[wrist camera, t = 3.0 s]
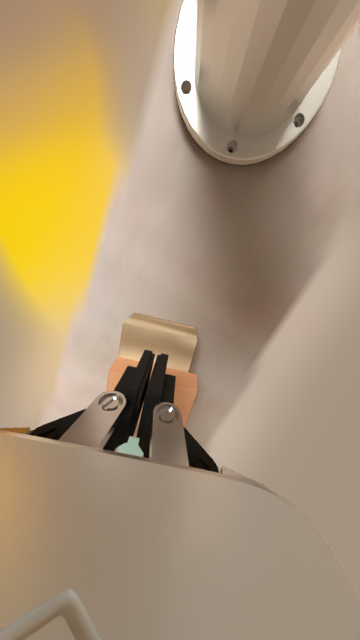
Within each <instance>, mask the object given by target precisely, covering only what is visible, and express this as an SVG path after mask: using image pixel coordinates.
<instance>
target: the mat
mask: <svg viewBox="0 0 360 640" xmlns="http://www.w3.org/2000/svg"><path fill="white" fill-rule="evenodd" d="M138 444H139V439H138V438H133V437H129V439H128V442H127V443H124V444H122V445H120V446H119V447H118V450H117V452H120V453H125V454H130V455H135V456H140V457H142V456H143V452H142V450H141V449H140V447H139V445H138Z"/></svg>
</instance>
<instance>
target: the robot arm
mask: <svg viewBox="0 0 360 640" xmlns="http://www.w3.org/2000/svg"><path fill="white" fill-rule="evenodd" d="M359 22H360V0H184V1H183V4H182V6H181V9H180V13H179V18H178V22H177V27H176V31H175V41H174V52H173V64H174V81H175V90H176V97H177V101H178V105H179V109H180V112H181V115H182V118H183V120H184V122H185V124H186V127H187V129H188V131H189V132H190V134H191V135H192V137H193V138H194V140H195V141H196V143H198V144H199V145H200V146H201V147H202V148H203V149H204V150H205V151H206V152H207V153H208V154H210V155H211V156H213V157H215V158H216V159H218V160H221V161H223V162H226V163H229V164H238V165H246V164H253V163H258V162H261V161H263V160H266V159H269V158H271V157H272V156H274V155H276V154H277V153H279V152H281V151H282V150H284V149H285V148H286V147H287V146H288V145H289V144H290V143H292V142H293V141H294V140H295V139H296V138H297V137H298V136H299V135H300V133H301V132H302V131H303V130H304V129H305V128H306V127H307V126H308V124H309V123H310V121H311V120H312V119H313V117H314V116H315V114H316V113H317V112H318V110H319V109H320V107H321V105H322V103H323V101H324V99H325V97H326V95H327V94H328V92H329V89H330V87H331V84H332V81H333V79H334V76H335V73H336V71H337V67H338V63H339V59H340V54H341V50H342V45H343V44H344V43H345V41H346V40H347V39H348V37H349V36H350V35H351V33H352V32H353V30H354V29H355V28H356V26H357V25H358V24H359ZM185 94H188V95H185ZM229 149H231V150H232V152H233V153H230V152H229V151H228V150H229ZM168 356H169V355H167V354H163V353H161V355H157V358H156V361H155V365H154V368H153V371H152V367H153V362H154V358H155V354H153V351H150V350H144V352H143V354H142V357H141V359H140V361H139V363H138V365H137V367H132V366H127V368H126V370H125V371H124V373H123V375H122V377H121V378H120V380H119V382H118V384H117V385H116V387H115V389H114V391H108V392H104V393H102V394H100V395H99V396H98V397H97V398H96V399H95V400H94V401H93V402H92V403H91V405H90V406H89V407H88V408H87V409H84V410H82V411H79V412H76V413H74V414H71V415H68V416H66V417H63V418H60V419H58V420H55V421H52V422H50V423H47V424H45V425H42V426H40V427H38V428H36V429H35V430H30V428H28V427H27V428H0V640H360V598H359V596H358V594H357V593H356V591H355V589H354V587H353V585H352V584H351V582H350V580H349V578H348V576H347V575H346V573H345V571H344V569H343V568H342V566H341V564H340V562H339V561H338V559H337V557H336V556H335V554H334V552H333V550H332V549H331V547H330V545H329V544H328V542H327V541H326V539H325V538H324V536H323V535H322V533H321V532H320V530H319V529H318V528H317V526H316V525H315V524H314V523H313V521H312V520H311V519H310V518H309V517H308V516H307V515H306V514H305V513H304V512H303V511H302V510H300V509H299V508H298V507H297V506H296V505H294V504H293V503H292V502H290V501H289V500H287V499H286V498H284V497H283V496H281V495H279V494H278V493H276V492H274V491H272V490H270V489H269V488H267V487H266V486H264V485H263V484H261V483H258V482H256V481H254V480H252V479H250V478H248V477H245V476H243V475H241V474H239V473H237V472H234V471H232V470H230V469H228V468H226V467H223V466H222V468H219V467H217V465H216V464H215V462H214V461H213V459H212V458H211V457H210V456H209V455H208V454H207V452H206V451H205V450H204V449H203V448H202V447H201V446H200V445H199V443H198V442H197V441H196V440H195V439H194V438H193V437H192V435H191V434H190V433H189V432H188V431H187V430H186V429H185V428H184V426H183V421H182V414H181V411H180V410H179V408H178V407H177V406H175V405H174V392H175V380H176V376H173V375H169V374H165V373H166V367H167V362H168ZM151 371H152V374H151ZM150 376H151V378H150ZM143 403H144V404H143ZM142 406H143V408H142ZM141 409H142V413H141ZM140 413H141V417H140V422H139V427H138V431H137V436H136V437H137V438H140V439H139V444H138V445H139V447H140V449H141V450H142V452H143V456H142V457H140V456H135V455H130V454H125V453H120V452H117V450H118V447H119V446H120V445H122V444H124V443H127V442H128V439H129V436H132V437H133V436H134V433H135V429H136V426H137V423H138V419H139V416H140Z"/></svg>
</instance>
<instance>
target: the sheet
mask: <svg viewBox="0 0 360 640" xmlns="http://www.w3.org/2000/svg"><path fill="white" fill-rule="evenodd" d="M196 344H197V334H196V327H192V326H188V325H184V324H179V323H175V322H171V321H167V320H162V319H158V318H154V317H150V316H145V315H141V314H137V313H133V314H132V315H131V316H130V317H129V318H128V319H127V320H126V321H125V322H124V323H123V327H122V334H121V341H120V349H119V356H118V357H122V358H127V359H131V360H136V361H140V359H141V357H142V354H143V352H144V350H150V351H153V354H155V358H154V362H153V364H154V365H155V361H156V358H157V355H161V353H163V354H167V355H169V356H168V362H167V368H172V369H176V370H180V371H185V372H188V371H189V368H190V364H191V361H192V358H193V354H194V351H195V348H196ZM138 427H139V422H138V423H137V426H136V429H135V433H134V436H133V438H137V437H136V436H137V431H138ZM129 437H132V436H129ZM138 439H140V438H138Z"/></svg>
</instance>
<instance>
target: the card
mask: <svg viewBox="0 0 360 640" xmlns="http://www.w3.org/2000/svg"><path fill="white" fill-rule="evenodd" d="M138 363H139V361H136V360H131V359H127V358H122V357H118V358H117V359H116V361H115V362H114V364H113V365H112V367H111V368H110V369H109V375H108V383H107V392H108V391H114V389H115V387H116V385H117V384H118V382H119V380H120V378H121V377H122V375H123V373H124V371H125V370H126V368H127V366H132V367H137V365H138ZM153 368H154V364H153V367H152V371H153ZM152 371H151V374H152ZM165 374H169V375H173V376H176V380H175V392H174V405H175V406H177V407H178V408H179V410H180V411H181V414H182V421H183V426H184V428H185V427H186V424H187V421H188V418H189V415H190V412H191V409H192V406H193V403H194V400H195V397H196V394H197V391H198V384H197V374H194V373H189V372H185V371H180V370H176V369H172V368H167V367H166V373H165ZM150 378H151V376H150ZM143 404H144V403H143ZM142 408H143V406H142ZM141 413H142V409H141ZM141 413H140V416H139V419H138V422H140V417H141Z"/></svg>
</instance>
